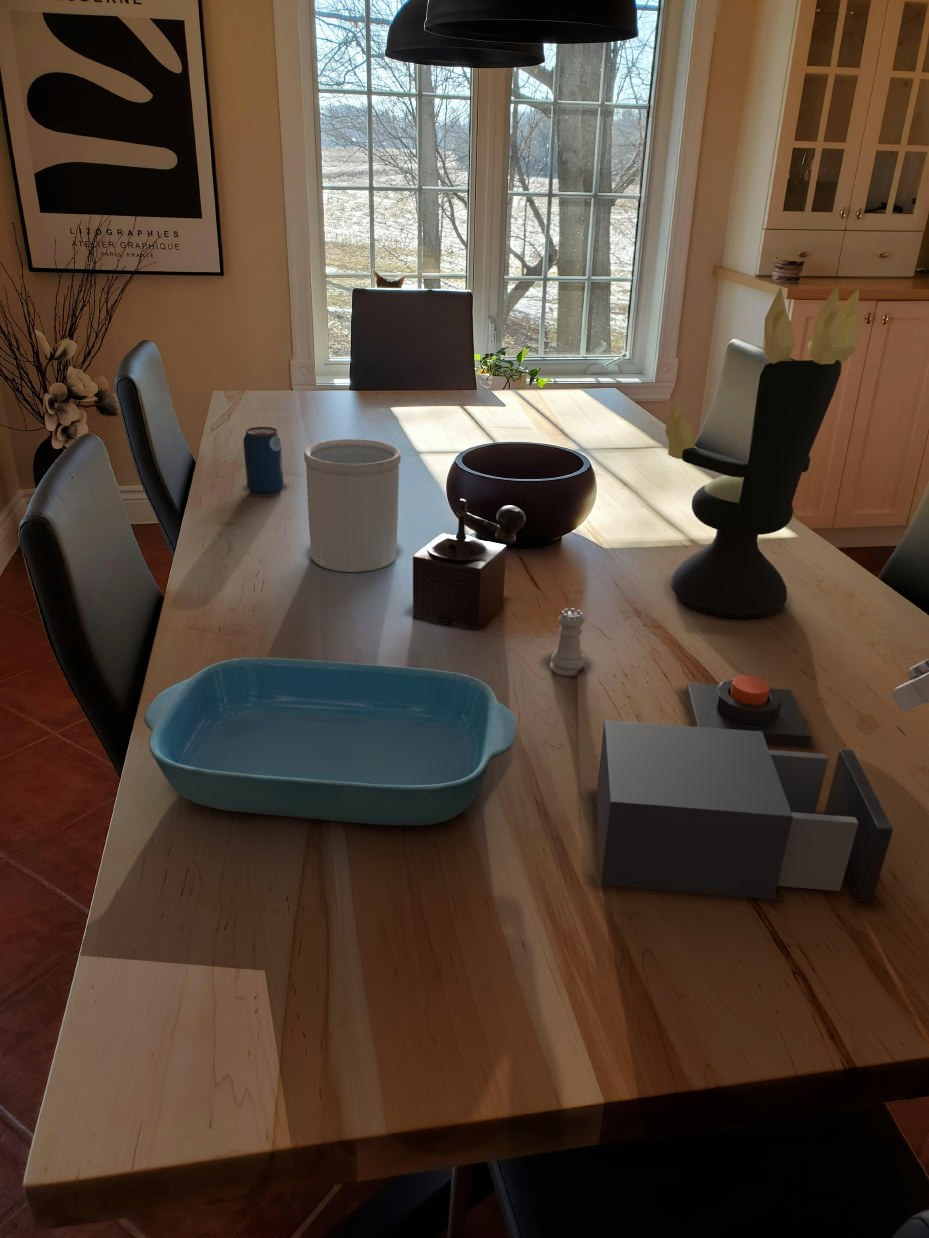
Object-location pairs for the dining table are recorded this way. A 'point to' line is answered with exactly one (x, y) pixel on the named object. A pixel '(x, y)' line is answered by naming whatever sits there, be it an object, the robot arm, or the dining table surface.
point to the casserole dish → (329, 739)
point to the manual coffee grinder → (464, 573)
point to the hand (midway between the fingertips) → (904, 689)
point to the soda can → (263, 461)
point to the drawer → (831, 825)
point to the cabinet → (690, 810)
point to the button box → (749, 713)
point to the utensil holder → (353, 503)
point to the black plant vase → (762, 465)
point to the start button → (750, 690)
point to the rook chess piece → (569, 645)
